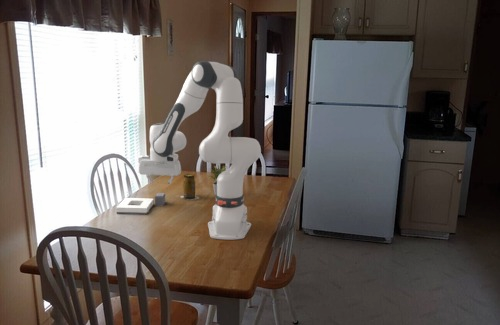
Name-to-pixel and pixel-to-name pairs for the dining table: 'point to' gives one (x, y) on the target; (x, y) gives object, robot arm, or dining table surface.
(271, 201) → the dining table surface
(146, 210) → the socket
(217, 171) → the house plant
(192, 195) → the condiment
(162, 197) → the plug
